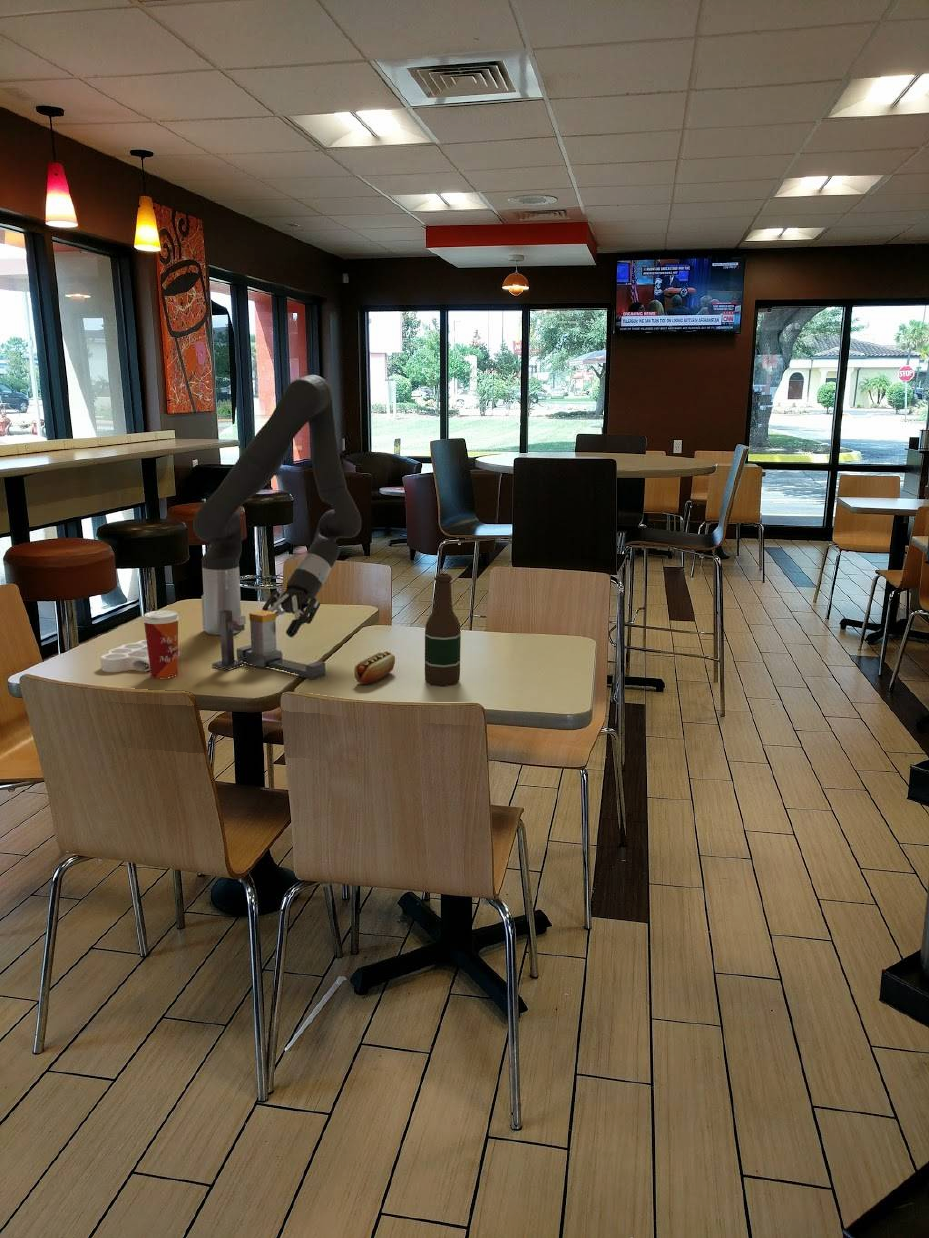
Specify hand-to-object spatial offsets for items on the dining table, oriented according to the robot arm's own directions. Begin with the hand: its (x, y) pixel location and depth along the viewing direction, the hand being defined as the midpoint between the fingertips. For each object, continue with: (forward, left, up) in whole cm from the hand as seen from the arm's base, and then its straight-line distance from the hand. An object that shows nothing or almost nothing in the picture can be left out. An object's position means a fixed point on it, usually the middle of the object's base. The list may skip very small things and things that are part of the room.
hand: (275, 632), depth 214 cm
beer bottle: (+41, +10, -7) cm, 42 cm away
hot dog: (+28, +3, -7) cm, 29 cm away
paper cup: (-11, -23, -7) cm, 27 cm away
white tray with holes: (-25, -20, -7) cm, 33 cm away
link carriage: (0, -4, -7) cm, 8 cm away
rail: (+5, -4, -7) cm, 9 cm away
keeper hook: (-4, -10, -7) cm, 13 cm away
